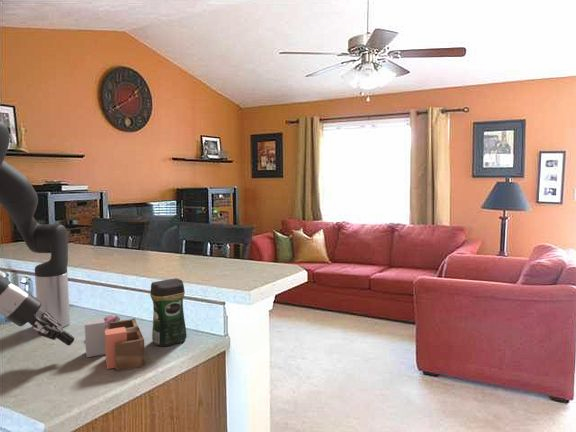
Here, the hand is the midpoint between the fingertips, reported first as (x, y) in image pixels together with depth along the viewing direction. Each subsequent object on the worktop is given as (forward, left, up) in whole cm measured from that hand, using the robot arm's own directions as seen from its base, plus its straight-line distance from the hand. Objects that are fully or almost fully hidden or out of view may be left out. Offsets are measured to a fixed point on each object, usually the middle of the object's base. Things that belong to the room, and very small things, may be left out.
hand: (71, 341), depth 119 cm
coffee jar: (0, +26, -5) cm, 26 cm away
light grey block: (0, +6, -4) cm, 7 cm away
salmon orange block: (+10, +10, -4) cm, 15 cm away
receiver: (+5, +13, -4) cm, 15 cm away
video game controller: (-14, +9, -5) cm, 18 cm away
